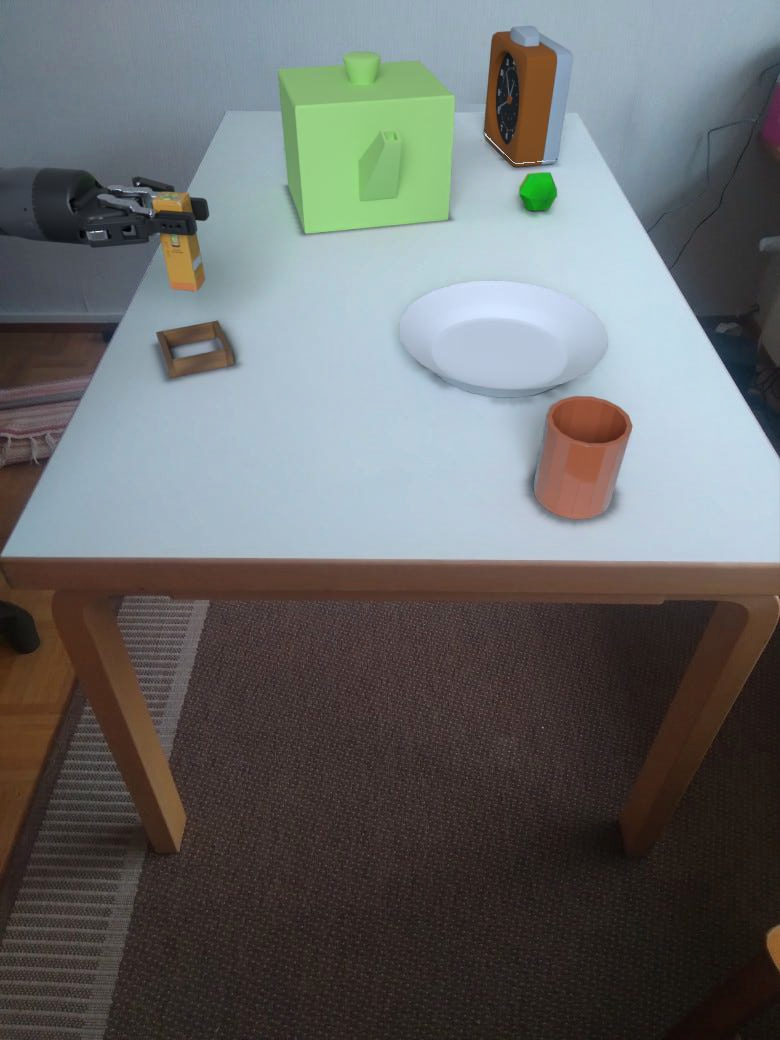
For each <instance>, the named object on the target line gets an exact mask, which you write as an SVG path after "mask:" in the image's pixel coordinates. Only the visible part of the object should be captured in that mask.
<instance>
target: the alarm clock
mask: <svg viewBox="0 0 780 1040" xmlns="http://www.w3.org/2000/svg"><path fill="white" fill-rule="evenodd" d="M490 40H491V41H490V52H489V64H488V75H487V87H486V100H485V110H484V111H485V112H484V123H483V133H484V132H485V133H486V134H487V136H488V137H489V138H491V140H492V141H493V142H494V143H495V144H496V145H497V146H498V147H499V148H500V149H501V150H502V151H503V152H504V153H505V154H506V155H507V156H508V157H509V158H510V159H511V160H512V161H513V162H515V163H523V162H535V163H524V164H515V163H513V162H512V161H511V160H510V159H509V158H508V157H507V156H506V155H505V154H503V153H502V152H501V151H500V150H499V149H498V148H497V147H496V146H495V145H494V144H493V143H492V142H491V141H490V140H489V139H488V138H487V137H486V136H485V135H484V134H483V136H484V139H485V140H486V141H487V142H488V143H489V144H490V146H492V147H493V148H494V149H495V150H496V151H497V152H498V153H499V154H500V155H501V156H502V157H503V158H504V159H505V160H506V161H507V162H508V163H509V164H510V165H511V166H512V167H514V168H521V167H530V166H541V165H553V164H555V163H557V162H558V160H559V159H558V158H559V154H560V147H561V141H562V134H563V128H564V121H565V115H566V110H567V109H566V108H567V102H568V97H569V89H570V83H571V77H572V70H573V64H574V54H573V53H572V51H571V50H570V49H568V48H566V47H565V46H563V45H562V44H560V43H558V42H556V41H555V40H553V39H552V38H550V37H548V36H547V35H545V34H543V33H542V32H540V31H539V30H538V28H537V27H536V26H534V25H521V26H512V27H511V28H510V30H507V31H496V32H495V33H493V34H492V36H491V39H490ZM556 159H557V160H556ZM542 160H543V161H546V160H555V161H546V162H537V161H542Z"/></svg>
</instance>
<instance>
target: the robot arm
mask: <svg viewBox="0 0 780 1040" xmlns="http://www.w3.org/2000/svg"><path fill="white" fill-rule="evenodd" d="M131 182H132V186H129V187H128V186H127V187H126V186H125V185H123V184H110V185H108V186H107V187H105V186H103V185H102V184H101V183H99V181H98V180H97V179H96V177H95V176H94V175H93V174H92V173H91V172H89V171H87V170H86V169H76V168H75V169H74V168H62V167H61V168H60V167H59V168H58V167H47V166H35V165H18V166H0V236H4V237H5V236H6V237H14V238H21V239H25V240H30V241H37V242H49V243H59V244H60V243H61V244H71V245H84V246H85V245H86V246H89V247H90V248H93V249H97V248H107V247H109V248H110V247H119V246H129V245H140V244H141V245H143V244H147V243H150V237H153V238H155V237H156V238H157V237H160V235H161V234H162V233H164V234H176V235H189V236H193V235H194V234H195V233H196V232H197V233H198V225H197V222H199V221H201V222H206V221H207V220H208V219H209V218H210V209H209V204H208V201H207V199H206V198H204V197H193V196H190V201H191V206H192V212H193V213H191V212H181V211H168V210H160V211H159V212H158V214H157V210H155V209H153V204H152V202H153V199H154V198H155V197H156V196H157V195H159V194H160V193H161V192H176V190H175V189H176V188H175V186H174V185H172V184H168V183H164V182H161V181H157V180H153V179H149V178H146V177H142V176H137V175H136V176H134V177H132V178H131ZM144 206H145V207H144Z"/></svg>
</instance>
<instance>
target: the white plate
mask: <svg viewBox="0 0 780 1040" xmlns="http://www.w3.org/2000/svg"><path fill="white" fill-rule="evenodd" d="M398 333H399V339H400V341H401V343H402V345H403V347H404V348H405V350H406V352H408V353H409V355H410V356H411V357H412V358H413V359H415V361H417V362H418V363H419V364H421V365H422V366H424V367H425V368H427V369H428V370H430V371H432V372H434V373H435V374H436V375H437V376H438V377H439V378H440V379H442V380H443V381H444V382H446V383H448V384H449V385H451V386H453V387H455V388H458V389H460V390H462V391H465V392H468V393H472V394H476V395H478V396H479V395H480V396H485V397H493V398H506V399H507V398H522V397H530V396H534V395H537V394H541V393H545V392H547V391H549V390H552V389H553V388H555V387H558V386H560V385H562V384H565V383H568V382H570V381H573V380H575V379H578V378H580V377H582V376H583V375H586V374H587V373H588V372H590V371H592V369H594V368H595V367H597V366H598V365H599V363H601V361H602V359H604V357H605V355H606V352H607V350H608V346H609V336H608V333H607V329H606V327H605V326H604V323H603V322H602V320H601V319H600V318H599V317H598V316H597V315H596V313H595V312H593V310H591V309H590V308H589V307H587V306H586V305H585V304H583V303H581V302H580V301H578V300H576V299H575V298H573V297H571V296H568V295H566V294H564V293H562V292H559V291H557V290H553V289H550V288H547V287H544V286H539V285H537V284H531V283H525V282H518V281H510V280H476V281H475V280H474V281H467V282H460V283H455V284H451V285H447V286H444V287H440V288H438V289H435V290H433V291H430V292H428V293H426V294H424V295H423V296H420V297H419V298H418V299H416V300H414V301H413V302H412V303H411V304H410V305H409V306H408V307H407V308H406V309H405V311H404V312H403V314H402V316H401V318H400V320H399V325H398Z"/></svg>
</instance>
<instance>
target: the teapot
mask: <svg viewBox="0 0 780 1040" xmlns="http://www.w3.org/2000/svg"><path fill="white" fill-rule="evenodd" d="M381 60H382V56H381V55H380V54H378V53H376V52H373V51H367V50H366V51H365V50H362V51H361V50H360V51H359V50H358V51H350V52H348V53H346V54H344V55H343V56H342V61H343V64H337V65H335V64H334V65H320V66H319V65H318V66H303V67H287V68H277V81H278V90H279V91H278V92H279V102H280V103H279V104H280V113H281V124H282V133H283V144H284V145H283V146H284V153H285V154H284V155H285V165H286V177H287V186H288V190H289V192H290V195H291V198H292V201H293V203H294V207H295V209H296V212H297V214H298V217H299V220H300V223H301V226H302V229H303V231H304V234H306V235H307V234H317V233H327V232H337V231H338V232H339V231H349V230H359V229H360V230H361V229H369V228H380V227H389V226H398V225H400V226H401V225H409V224H420V223H430V222H440V221H448V220H449V215H450V198H451V197H450V196H451V181H452V163H453V161H452V160H453V145H454V144H453V143H454V128H455V110H456V97H455V96H456V95H455V94H453V92H452V91H450V90H449V89H448V88H447V87H446V86H445V85H444V84H443V82H442V81H440V80H439V78H437V77H436V76H435V74H434V73H433V72H431V71H430V70H429V68H427V66H425V65H424V64H423V63H422V62H421V61H420V60H403V61H402V60H401V61H388V62H387V61H386V62H385V61H384V62H381Z"/></svg>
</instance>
